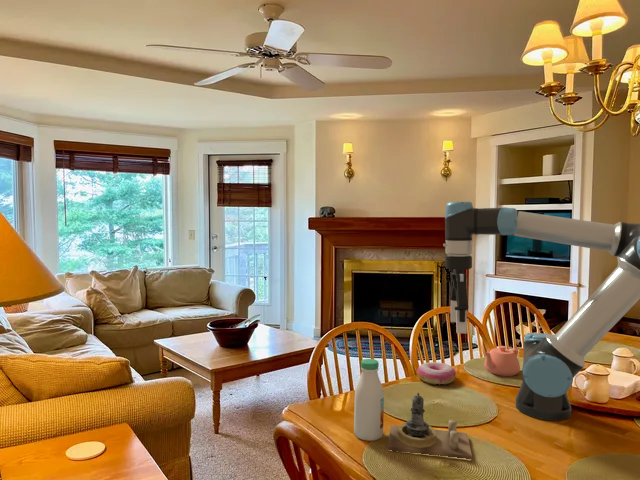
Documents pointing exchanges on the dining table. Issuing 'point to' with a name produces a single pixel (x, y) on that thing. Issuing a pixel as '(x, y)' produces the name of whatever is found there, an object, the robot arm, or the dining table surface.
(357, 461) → the dining table surface
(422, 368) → the donut
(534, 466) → the dining table surface
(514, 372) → the teapot
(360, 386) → the milk bottle
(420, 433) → the dark grey tapered tower
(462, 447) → the board
